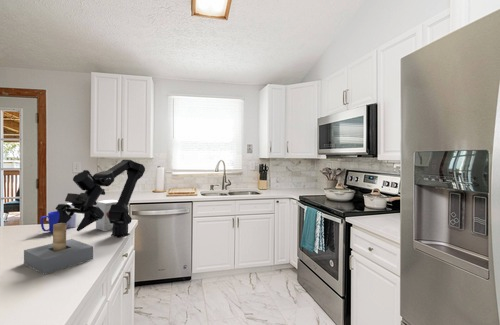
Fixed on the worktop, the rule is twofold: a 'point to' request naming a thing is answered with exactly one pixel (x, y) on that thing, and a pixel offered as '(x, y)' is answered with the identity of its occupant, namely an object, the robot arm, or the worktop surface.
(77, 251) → the socket block
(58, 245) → the pin
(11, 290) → the worktop surface
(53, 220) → the mug
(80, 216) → the container
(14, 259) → the worktop surface
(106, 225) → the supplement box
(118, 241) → the worktop surface
